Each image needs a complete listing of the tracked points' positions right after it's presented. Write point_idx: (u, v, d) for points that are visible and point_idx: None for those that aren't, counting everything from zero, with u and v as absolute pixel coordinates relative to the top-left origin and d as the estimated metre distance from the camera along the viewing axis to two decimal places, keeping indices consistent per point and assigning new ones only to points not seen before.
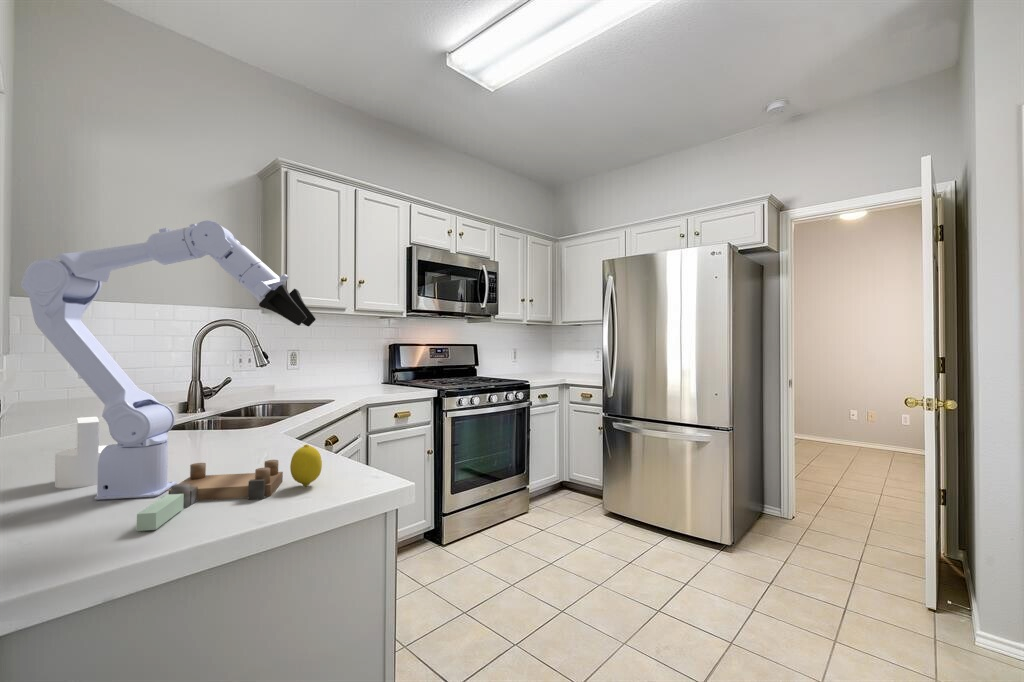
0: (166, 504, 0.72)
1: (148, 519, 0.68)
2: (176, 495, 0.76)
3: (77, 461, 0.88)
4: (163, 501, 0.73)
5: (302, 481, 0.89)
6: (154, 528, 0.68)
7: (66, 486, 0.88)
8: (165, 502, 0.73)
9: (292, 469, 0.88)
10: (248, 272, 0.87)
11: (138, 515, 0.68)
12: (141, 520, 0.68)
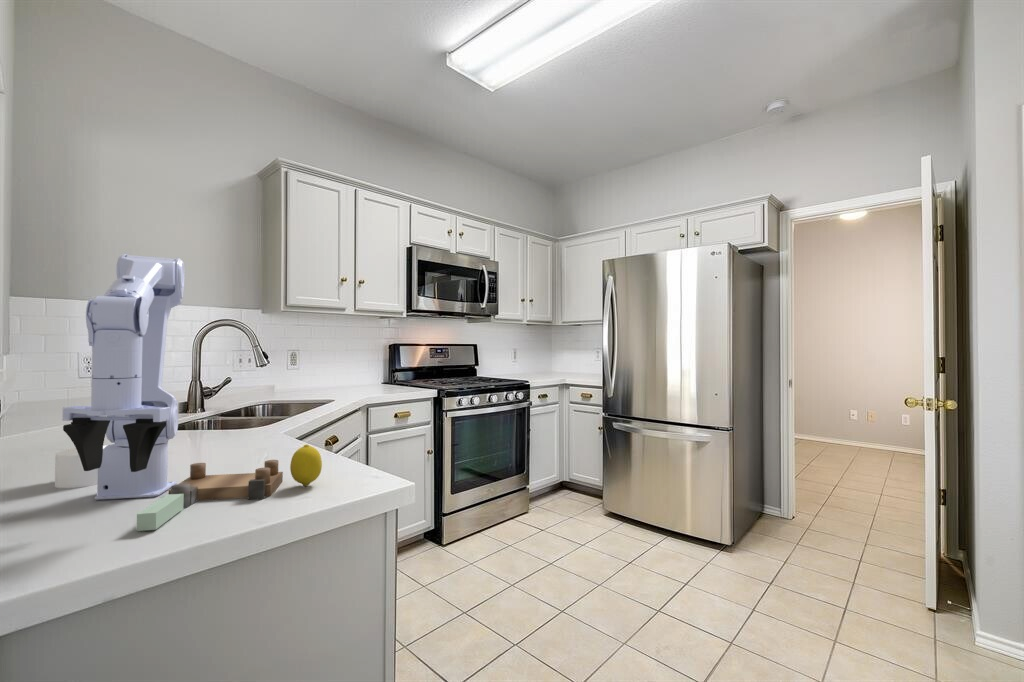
0: (166, 504, 0.72)
1: (148, 519, 0.68)
2: (176, 495, 0.76)
3: (77, 461, 0.88)
4: (163, 501, 0.73)
5: (302, 481, 0.89)
6: (154, 528, 0.68)
7: (66, 486, 0.88)
8: (165, 502, 0.73)
9: (292, 469, 0.88)
10: None
11: (138, 515, 0.68)
12: (141, 520, 0.68)
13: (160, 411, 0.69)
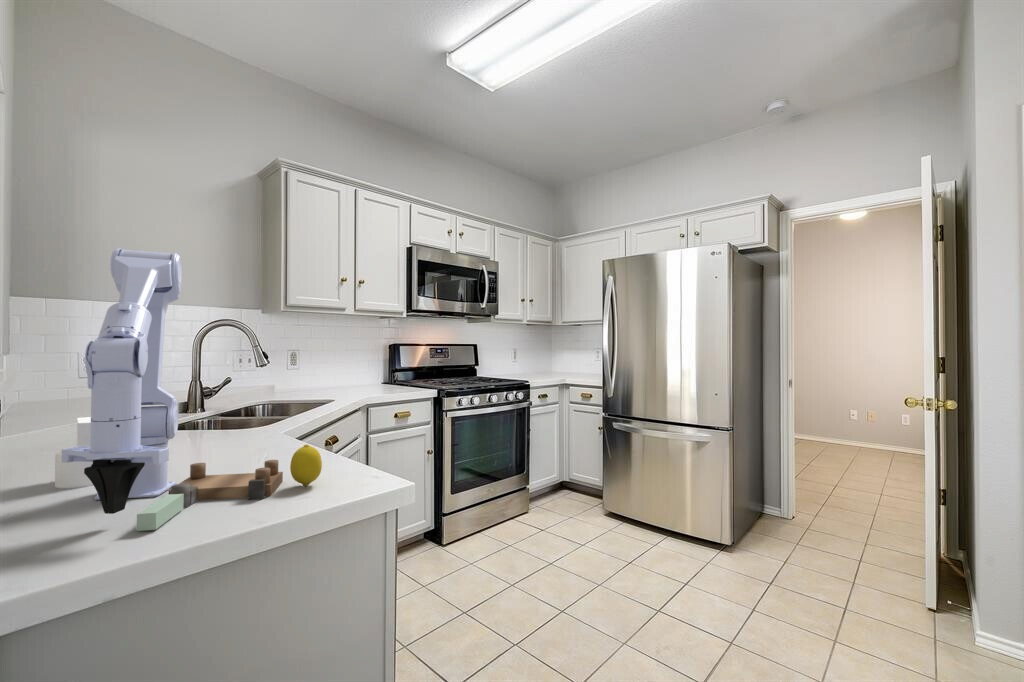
0: (166, 504, 0.72)
1: (148, 519, 0.68)
2: (176, 495, 0.76)
3: None
4: (163, 501, 0.73)
5: (302, 481, 0.89)
6: (154, 528, 0.68)
7: (66, 486, 0.88)
8: (165, 502, 0.73)
9: (292, 469, 0.88)
10: None
11: (138, 515, 0.68)
12: (141, 520, 0.68)
13: (159, 453, 0.69)
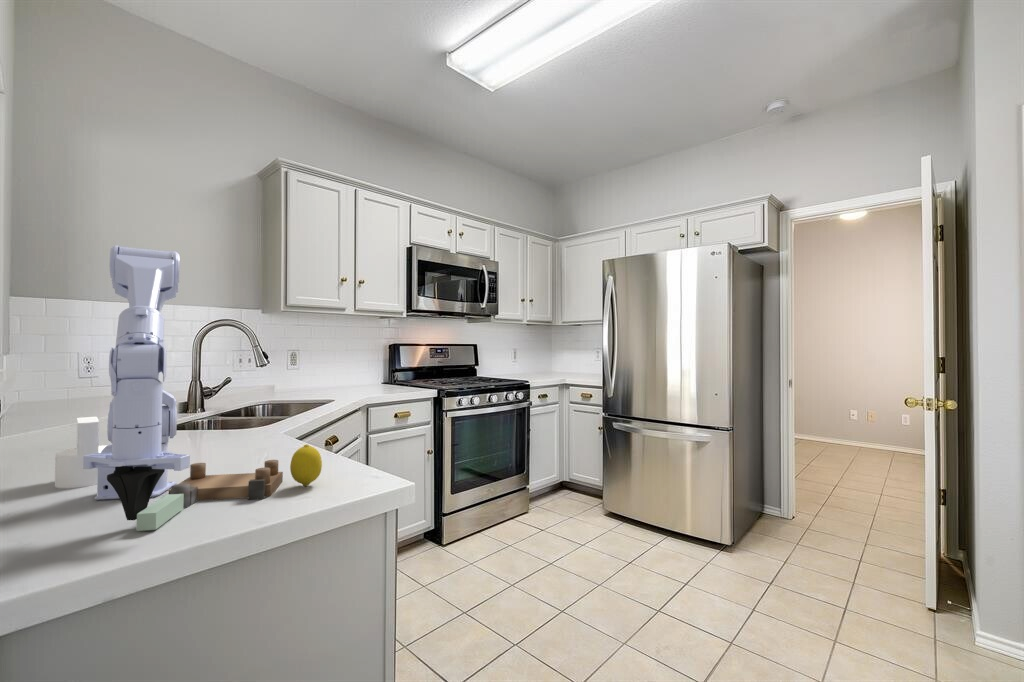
0: (166, 504, 0.72)
1: (148, 519, 0.68)
2: (176, 495, 0.76)
3: (77, 461, 0.88)
4: (163, 501, 0.73)
5: (302, 481, 0.89)
6: (154, 528, 0.68)
7: (66, 486, 0.88)
8: (165, 502, 0.73)
9: (292, 469, 0.88)
10: None
11: (138, 515, 0.68)
12: (141, 520, 0.68)
13: (181, 460, 0.69)
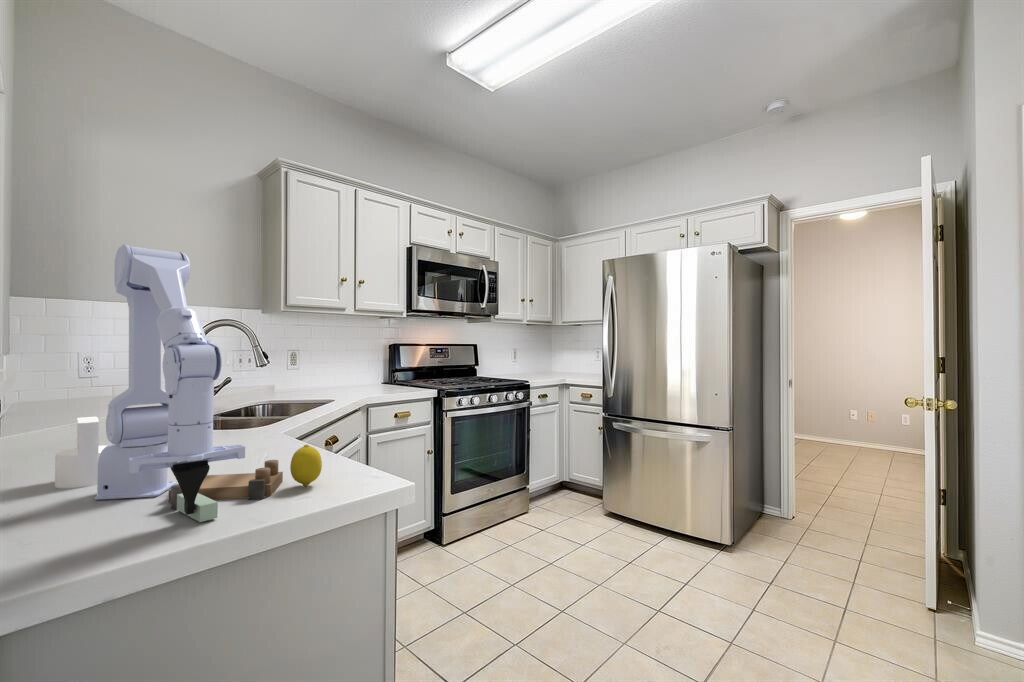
0: (205, 497, 0.75)
1: (210, 509, 0.72)
2: None
3: (77, 461, 0.88)
4: None
5: (302, 481, 0.89)
6: (216, 516, 0.73)
7: (66, 486, 0.88)
8: (197, 497, 0.75)
9: (292, 469, 0.88)
10: (168, 427, 0.70)
11: (201, 507, 0.71)
12: (204, 511, 0.72)
13: None
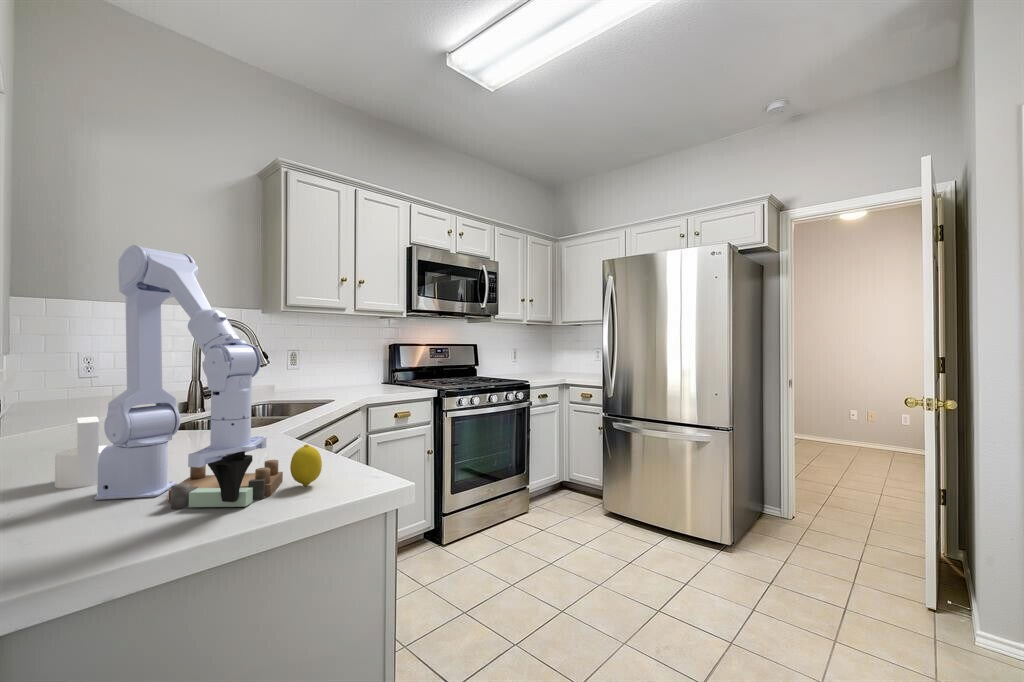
0: None
1: (250, 494, 0.80)
2: (199, 489, 0.79)
3: (77, 461, 0.88)
4: (215, 490, 0.79)
5: (302, 481, 0.89)
6: (252, 501, 0.80)
7: (66, 486, 0.88)
8: (219, 489, 0.79)
9: (292, 469, 0.88)
10: (217, 422, 0.75)
11: (246, 492, 0.78)
12: (247, 496, 0.79)
13: (265, 438, 0.85)
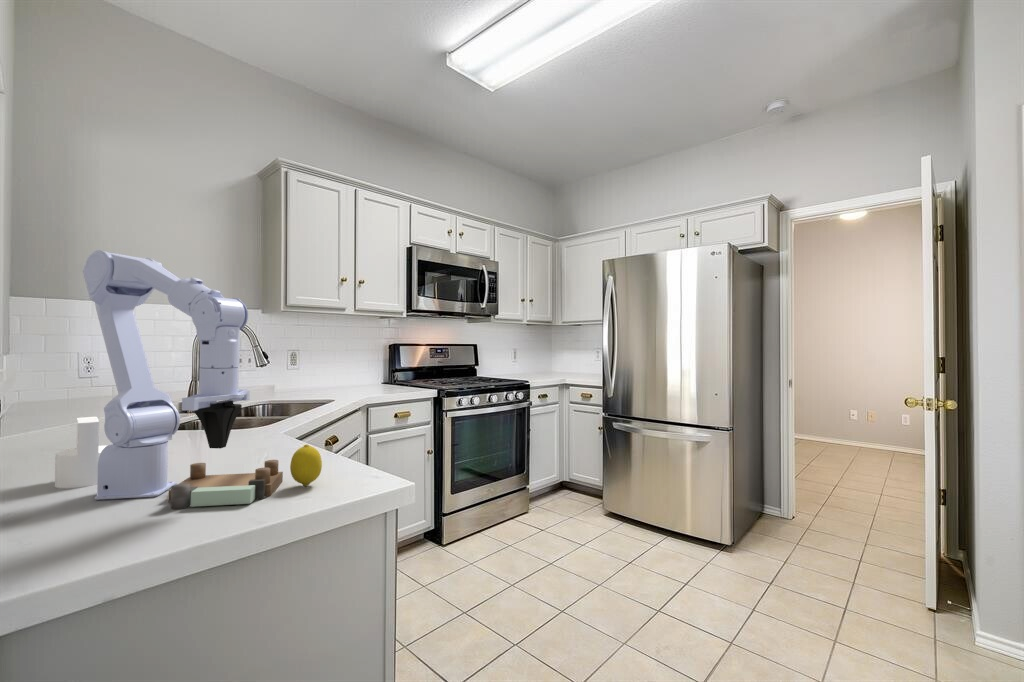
0: (231, 486, 0.81)
1: (253, 491, 0.81)
2: (200, 488, 0.80)
3: (77, 461, 0.88)
4: (218, 488, 0.80)
5: (302, 481, 0.89)
6: (254, 498, 0.82)
7: (66, 486, 0.88)
8: (221, 488, 0.80)
9: (292, 469, 0.88)
10: (208, 371, 0.78)
11: (251, 490, 0.80)
12: (251, 493, 0.80)
13: (248, 391, 0.88)
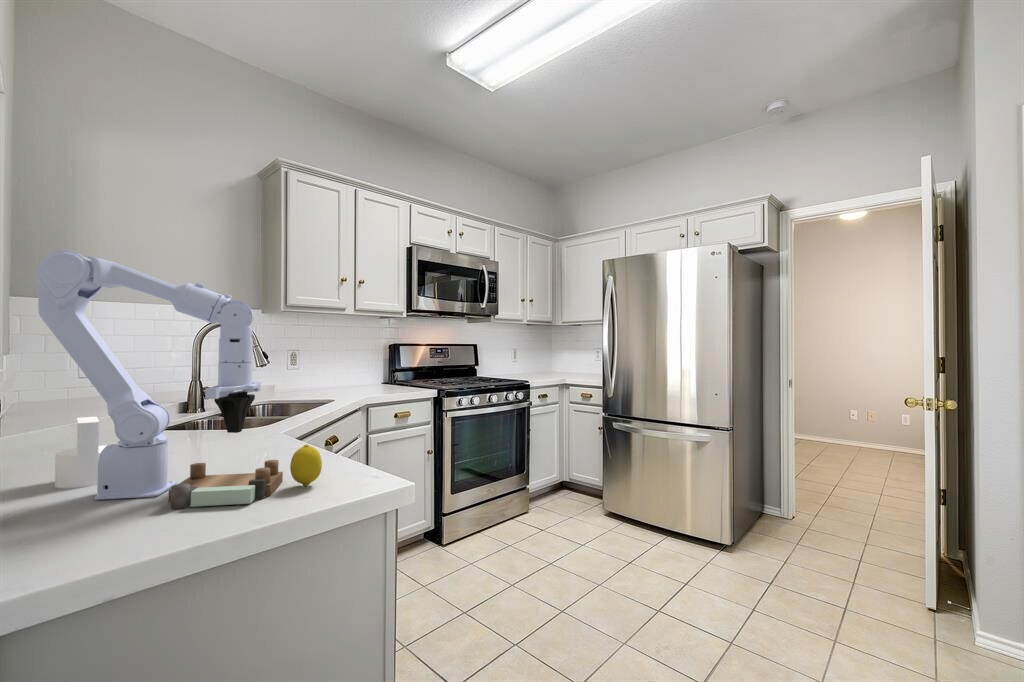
0: (231, 486, 0.81)
1: (253, 491, 0.81)
2: (200, 488, 0.80)
3: (77, 461, 0.88)
4: (218, 488, 0.80)
5: (302, 481, 0.89)
6: (254, 498, 0.82)
7: (66, 486, 0.88)
8: (221, 488, 0.80)
9: (292, 469, 0.88)
10: (226, 365, 0.90)
11: (251, 490, 0.80)
12: (251, 493, 0.80)
13: (260, 383, 1.00)
